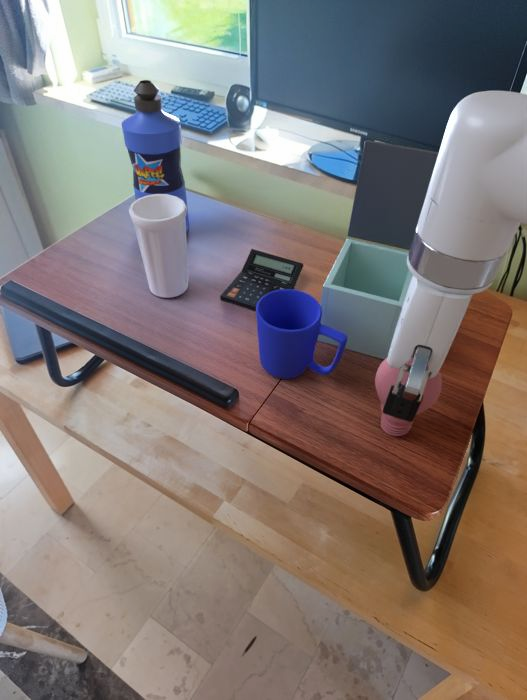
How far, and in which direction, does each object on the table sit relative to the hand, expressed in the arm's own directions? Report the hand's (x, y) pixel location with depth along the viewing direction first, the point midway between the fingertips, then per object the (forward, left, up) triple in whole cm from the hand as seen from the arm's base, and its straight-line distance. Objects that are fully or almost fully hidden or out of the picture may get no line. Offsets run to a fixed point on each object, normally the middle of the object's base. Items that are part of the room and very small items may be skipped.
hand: (405, 383), depth 53 cm
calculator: (+25, -19, -8) cm, 33 cm away
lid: (+8, -24, +9) cm, 27 cm away
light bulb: (0, 0, -8) cm, 8 cm away
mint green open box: (+8, -17, -8) cm, 21 cm away
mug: (+14, -4, -8) cm, 17 cm away
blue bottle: (+49, -29, -8) cm, 58 cm away
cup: (+39, -13, -8) cm, 42 cm away
